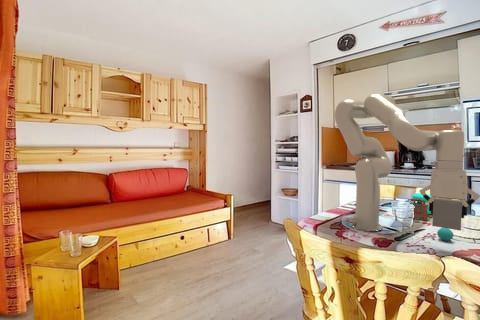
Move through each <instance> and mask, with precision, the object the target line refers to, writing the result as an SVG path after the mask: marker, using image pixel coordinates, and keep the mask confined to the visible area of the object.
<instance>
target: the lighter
mask: <svg viewBox="0 0 480 320" xmlns="http://www.w3.org/2000/svg"><path fill="white" fill-rule="evenodd" d="M410 201H411V202H409V203H410V204H413V205H414V206H415V208H414V218H413V219H415V220H423V221H427V220H428V214H427V211H428V206H429V203H427V202H426V200H421V199H414V198H413V197H411V199H410Z"/></svg>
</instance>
